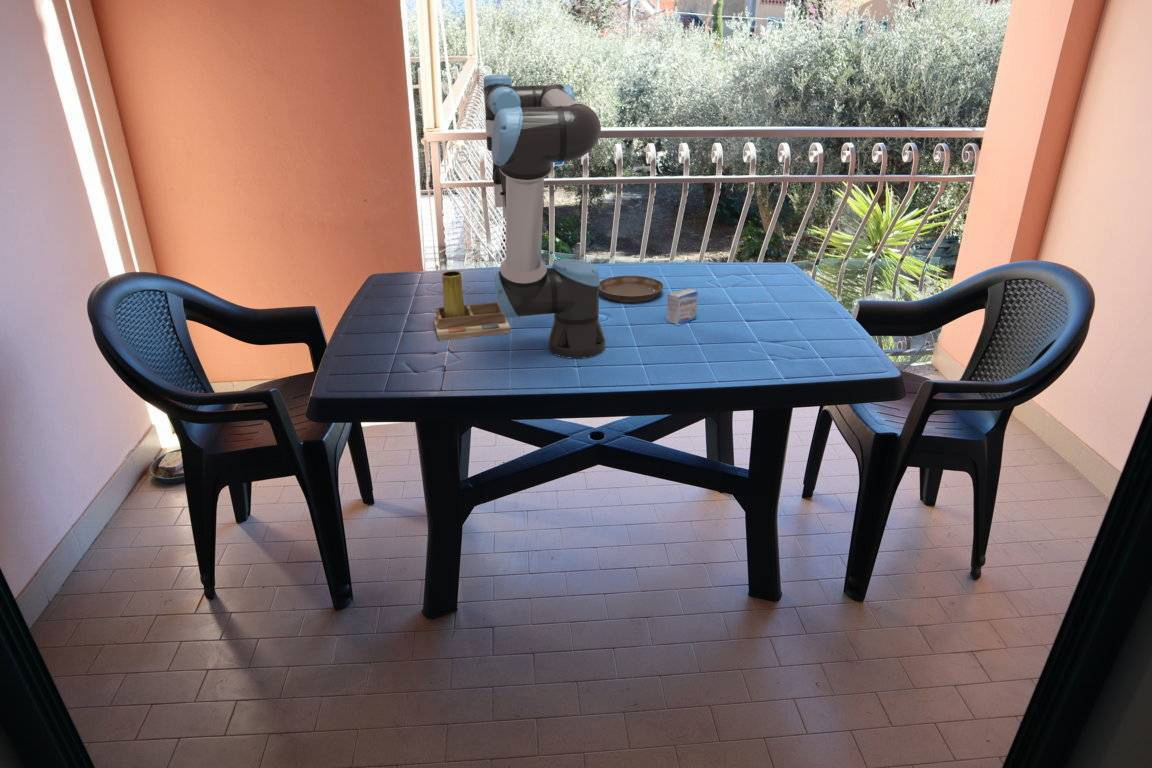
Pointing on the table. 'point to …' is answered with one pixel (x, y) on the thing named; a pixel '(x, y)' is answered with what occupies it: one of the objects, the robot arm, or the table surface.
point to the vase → (453, 294)
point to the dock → (472, 322)
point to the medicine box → (682, 306)
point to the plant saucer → (630, 288)
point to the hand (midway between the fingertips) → (503, 212)
